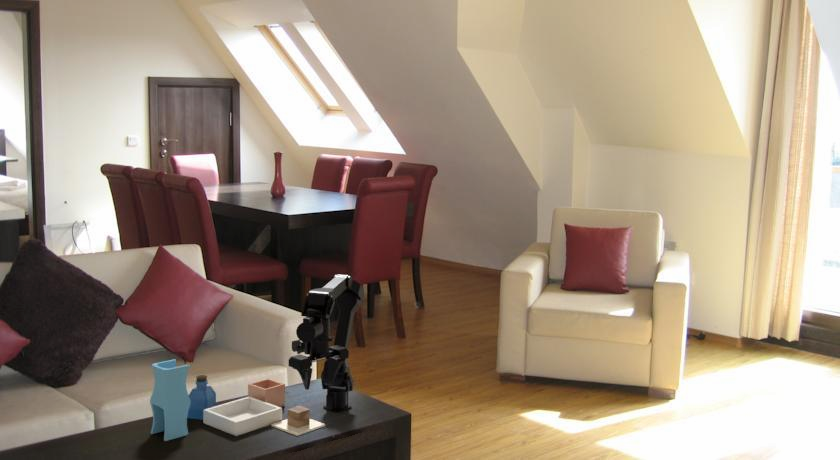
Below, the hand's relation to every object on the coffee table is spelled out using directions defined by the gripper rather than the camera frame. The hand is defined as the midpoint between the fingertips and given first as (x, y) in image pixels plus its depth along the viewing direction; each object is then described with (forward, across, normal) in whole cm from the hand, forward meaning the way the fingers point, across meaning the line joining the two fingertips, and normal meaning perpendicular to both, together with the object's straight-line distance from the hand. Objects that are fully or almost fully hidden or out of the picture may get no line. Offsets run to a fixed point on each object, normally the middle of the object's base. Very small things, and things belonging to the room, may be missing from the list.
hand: (318, 385), depth 254 cm
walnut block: (+11, +5, -3) cm, 13 cm away
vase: (+12, +35, -23) cm, 43 cm away
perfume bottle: (+12, +20, -29) cm, 38 cm away
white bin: (+12, +15, -17) cm, 25 cm away
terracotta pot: (+12, +1, -23) cm, 26 cm away
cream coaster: (+12, +5, -3) cm, 13 cm away
